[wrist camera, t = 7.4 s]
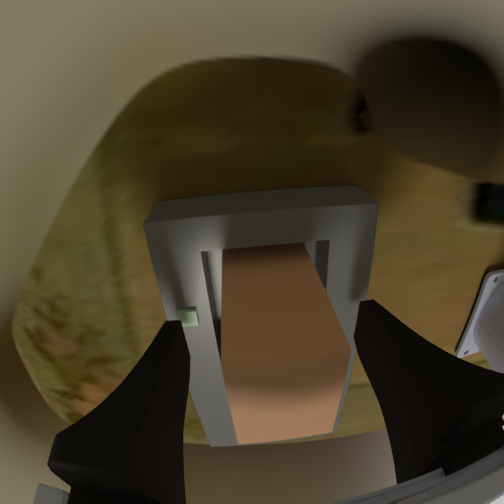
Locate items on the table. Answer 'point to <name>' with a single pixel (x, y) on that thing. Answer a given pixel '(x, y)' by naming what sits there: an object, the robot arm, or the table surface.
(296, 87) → the table surface
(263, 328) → the tan rectangular block
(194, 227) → the grey slotted tray
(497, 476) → the robot arm
